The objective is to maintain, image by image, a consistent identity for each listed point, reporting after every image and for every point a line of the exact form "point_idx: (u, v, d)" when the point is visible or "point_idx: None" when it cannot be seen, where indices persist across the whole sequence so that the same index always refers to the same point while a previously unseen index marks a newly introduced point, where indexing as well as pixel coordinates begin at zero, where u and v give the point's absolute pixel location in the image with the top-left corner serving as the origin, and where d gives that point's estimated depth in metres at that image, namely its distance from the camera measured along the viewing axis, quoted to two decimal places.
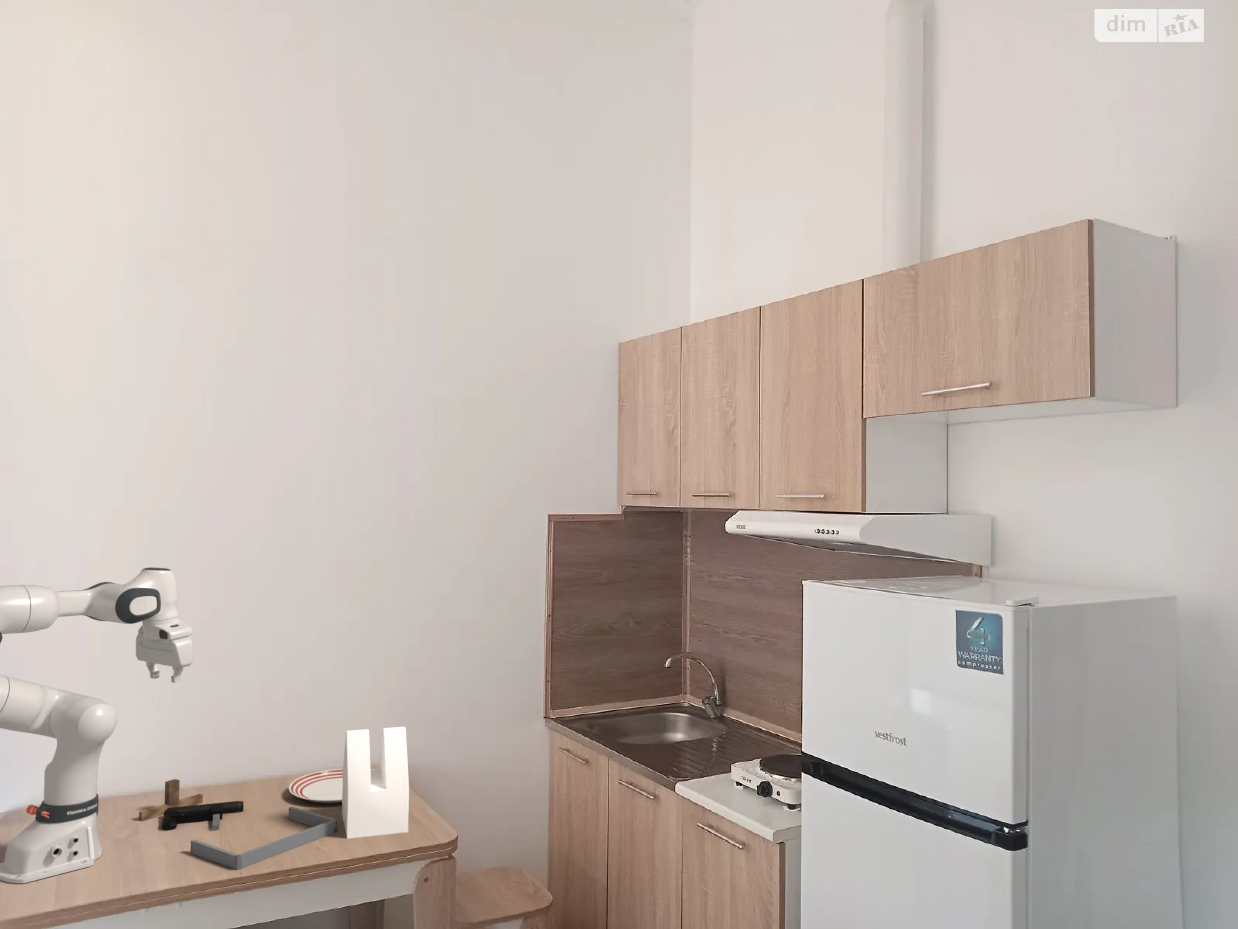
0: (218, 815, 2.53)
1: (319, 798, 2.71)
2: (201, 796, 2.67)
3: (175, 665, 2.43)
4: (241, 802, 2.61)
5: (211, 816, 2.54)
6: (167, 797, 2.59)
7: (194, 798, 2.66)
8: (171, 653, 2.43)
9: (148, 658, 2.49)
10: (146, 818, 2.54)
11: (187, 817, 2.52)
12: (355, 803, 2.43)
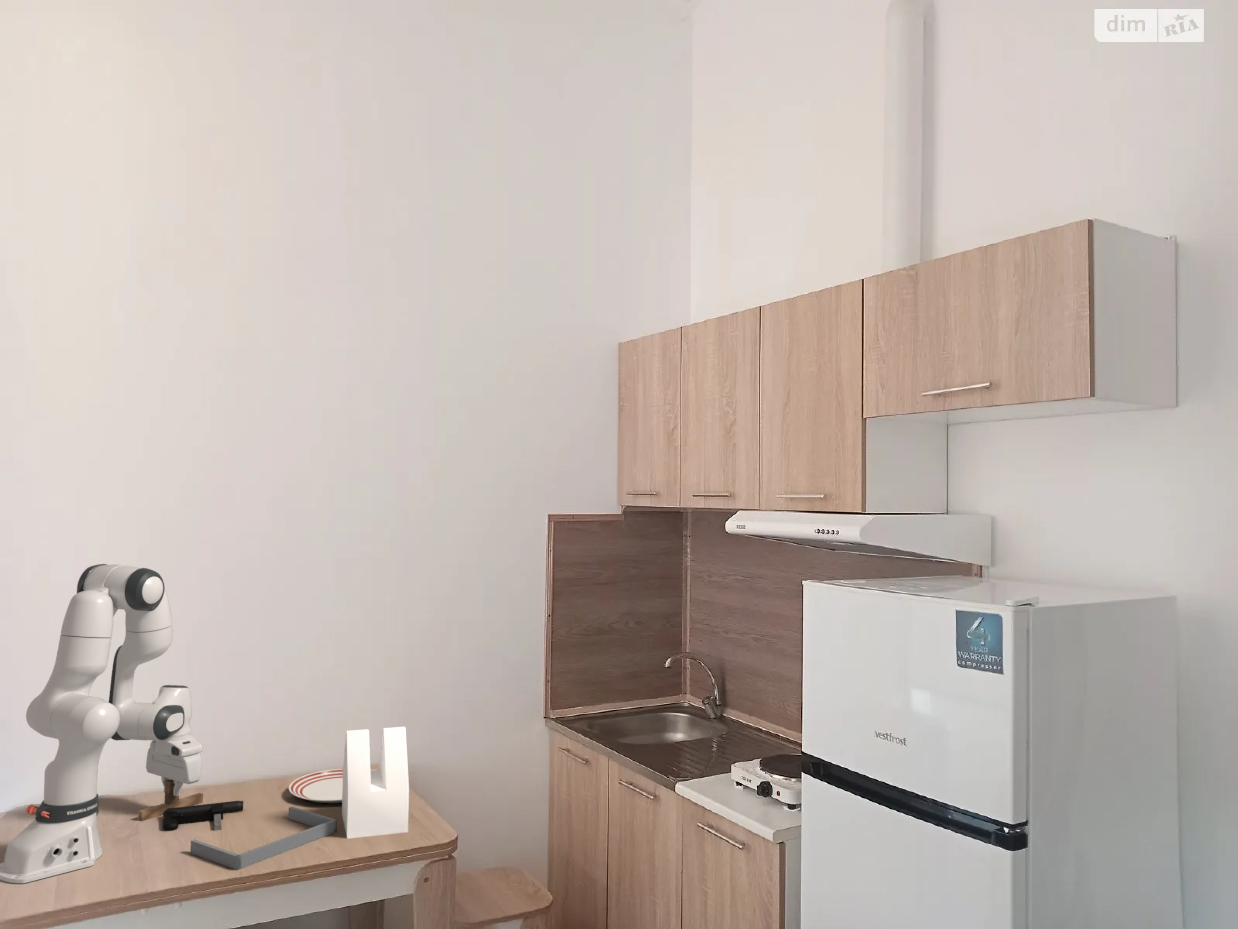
0: (219, 815, 2.53)
1: (319, 798, 2.71)
2: (201, 795, 2.67)
3: (183, 781, 2.55)
4: (241, 802, 2.62)
5: (212, 816, 2.54)
6: (167, 796, 2.59)
7: (194, 797, 2.66)
8: (180, 769, 2.56)
9: (158, 771, 2.61)
10: (146, 817, 2.54)
11: (188, 817, 2.51)
12: (355, 803, 2.43)
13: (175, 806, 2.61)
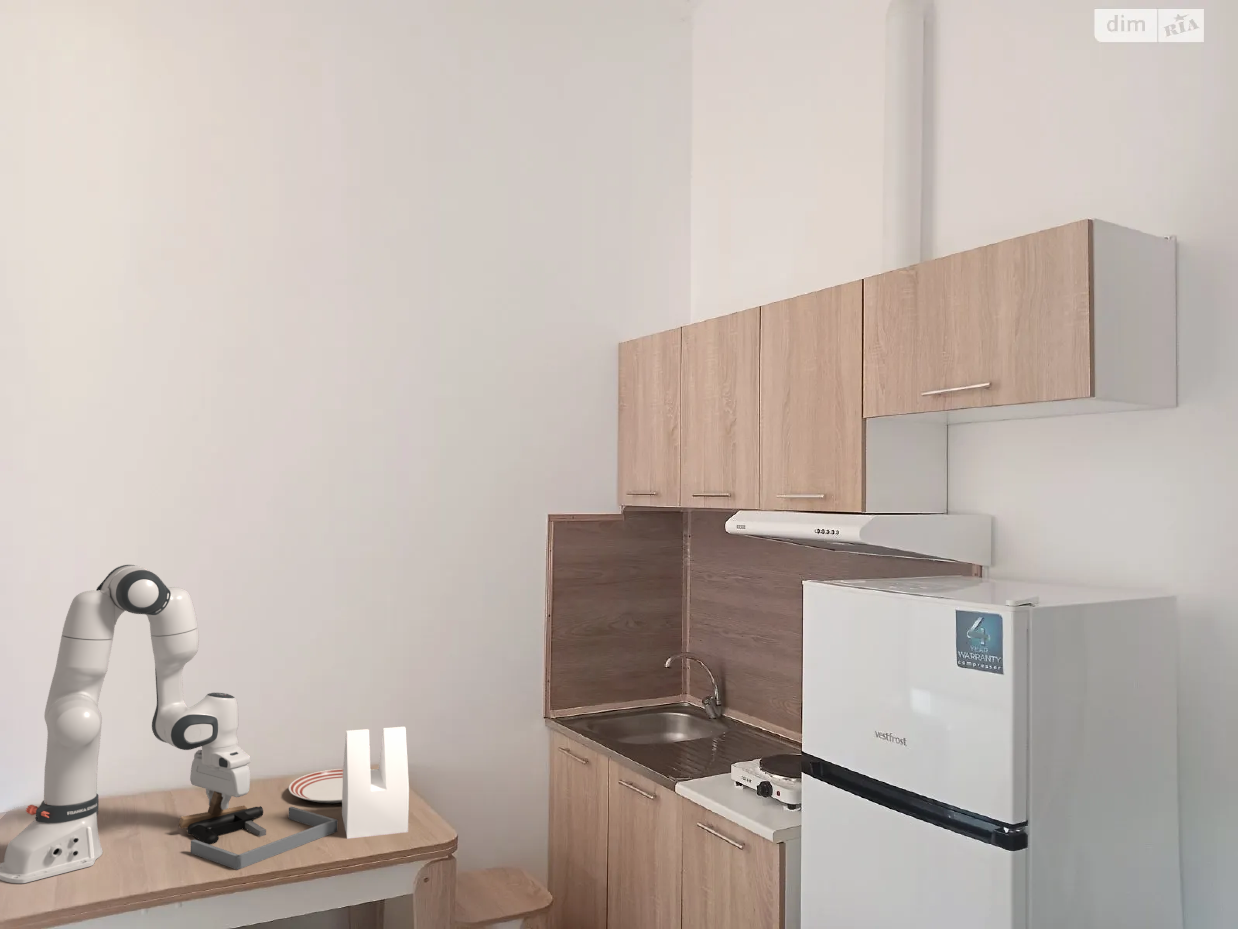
0: (251, 822, 2.48)
1: (319, 798, 2.71)
2: None
3: (232, 794, 2.45)
4: (260, 807, 2.57)
5: (243, 824, 2.48)
6: (212, 807, 2.49)
7: None
8: (228, 781, 2.45)
9: (203, 784, 2.51)
10: (186, 825, 2.44)
11: (221, 828, 2.43)
12: (355, 803, 2.43)
13: None
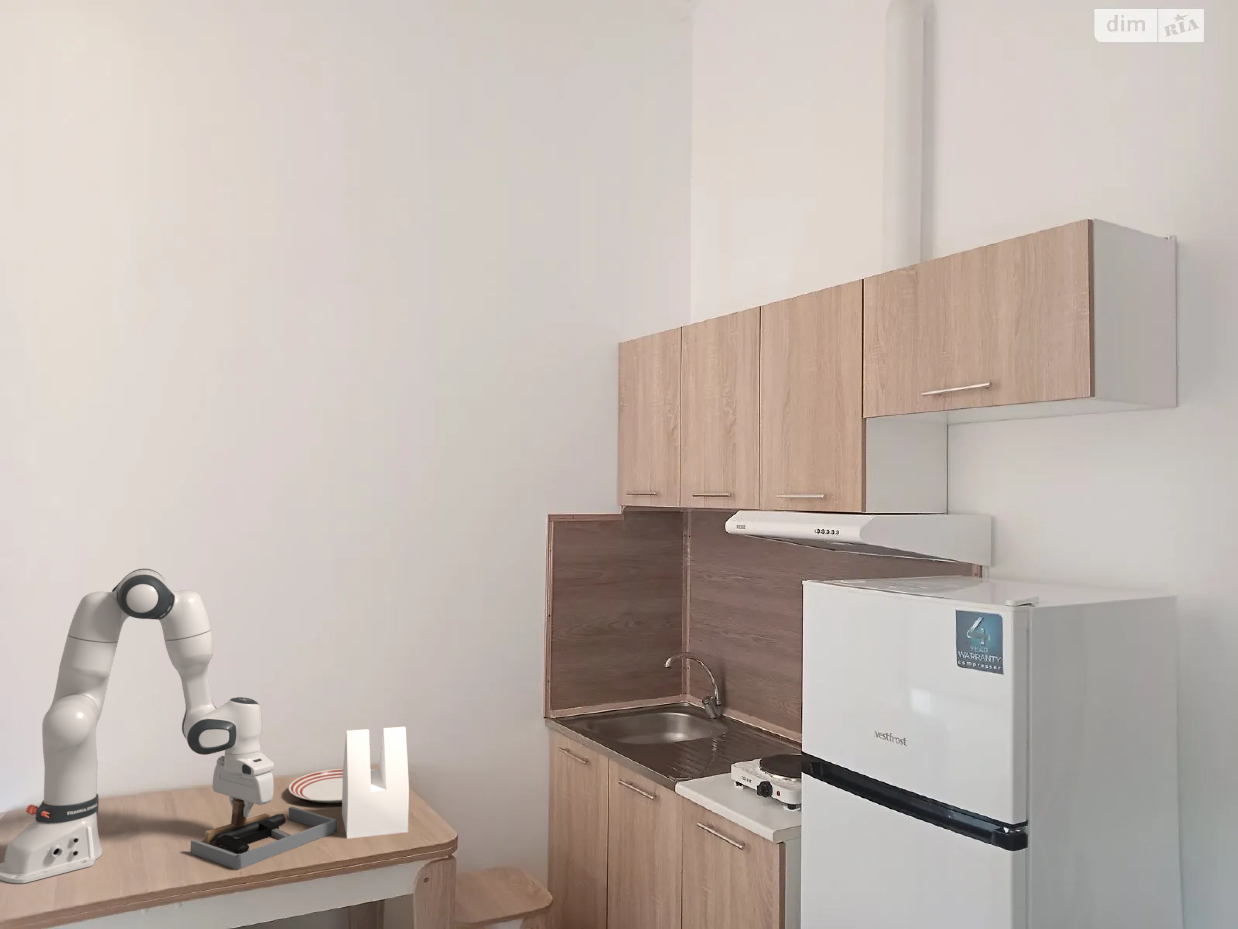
0: (278, 829, 2.44)
1: (319, 798, 2.71)
2: (267, 816, 2.51)
3: (255, 802, 2.39)
4: (282, 815, 2.52)
5: (269, 832, 2.43)
6: (234, 817, 2.43)
7: (261, 818, 2.49)
8: (251, 789, 2.40)
9: (226, 791, 2.46)
10: (212, 839, 2.38)
11: (249, 837, 2.38)
12: (355, 803, 2.43)
13: None
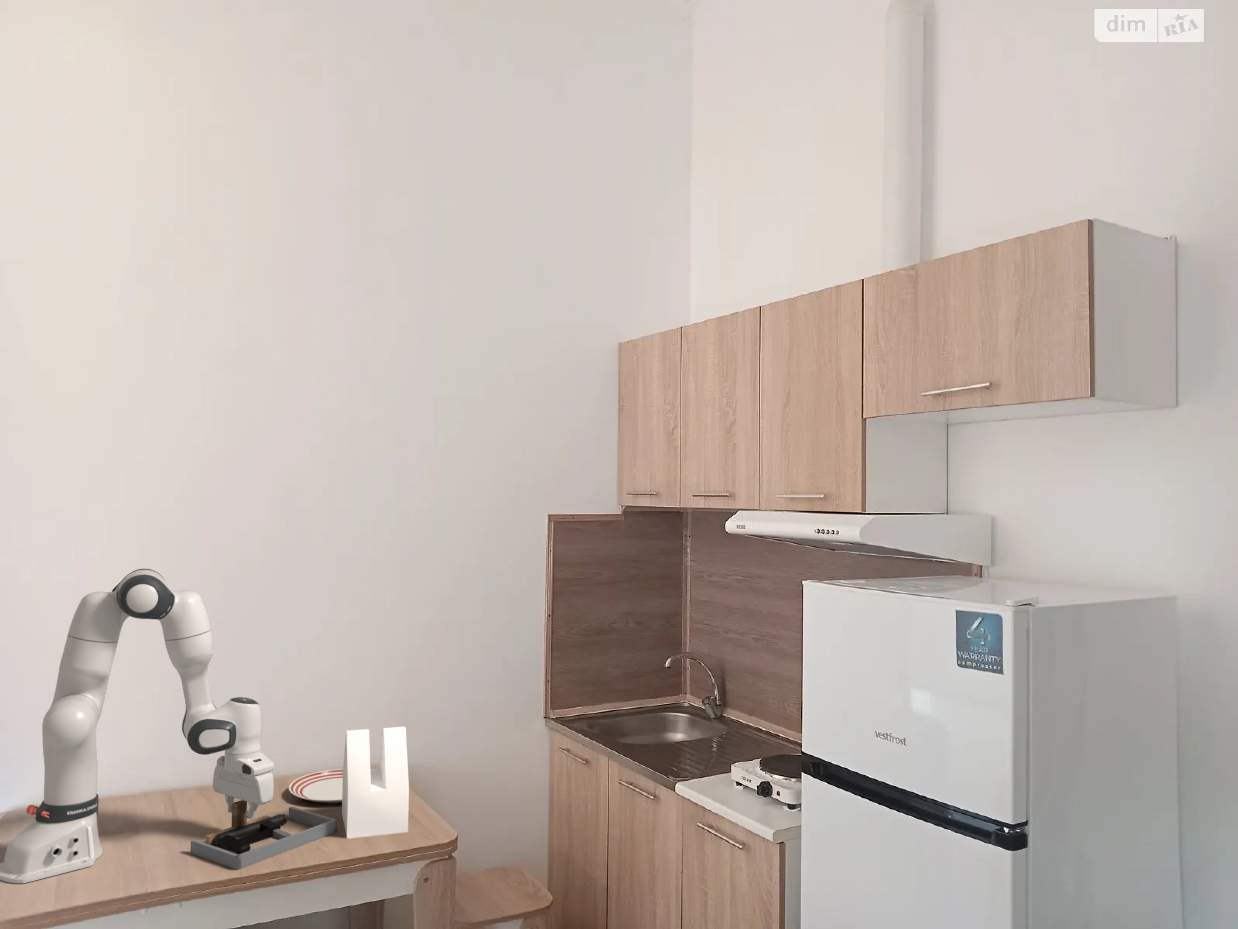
0: (280, 830, 2.43)
1: (319, 798, 2.71)
2: None
3: (255, 802, 2.39)
4: (283, 815, 2.52)
5: (271, 832, 2.43)
6: (234, 820, 2.43)
7: None
8: (251, 789, 2.40)
9: (226, 791, 2.46)
10: (213, 843, 2.37)
11: (250, 838, 2.38)
12: (355, 803, 2.43)
13: None
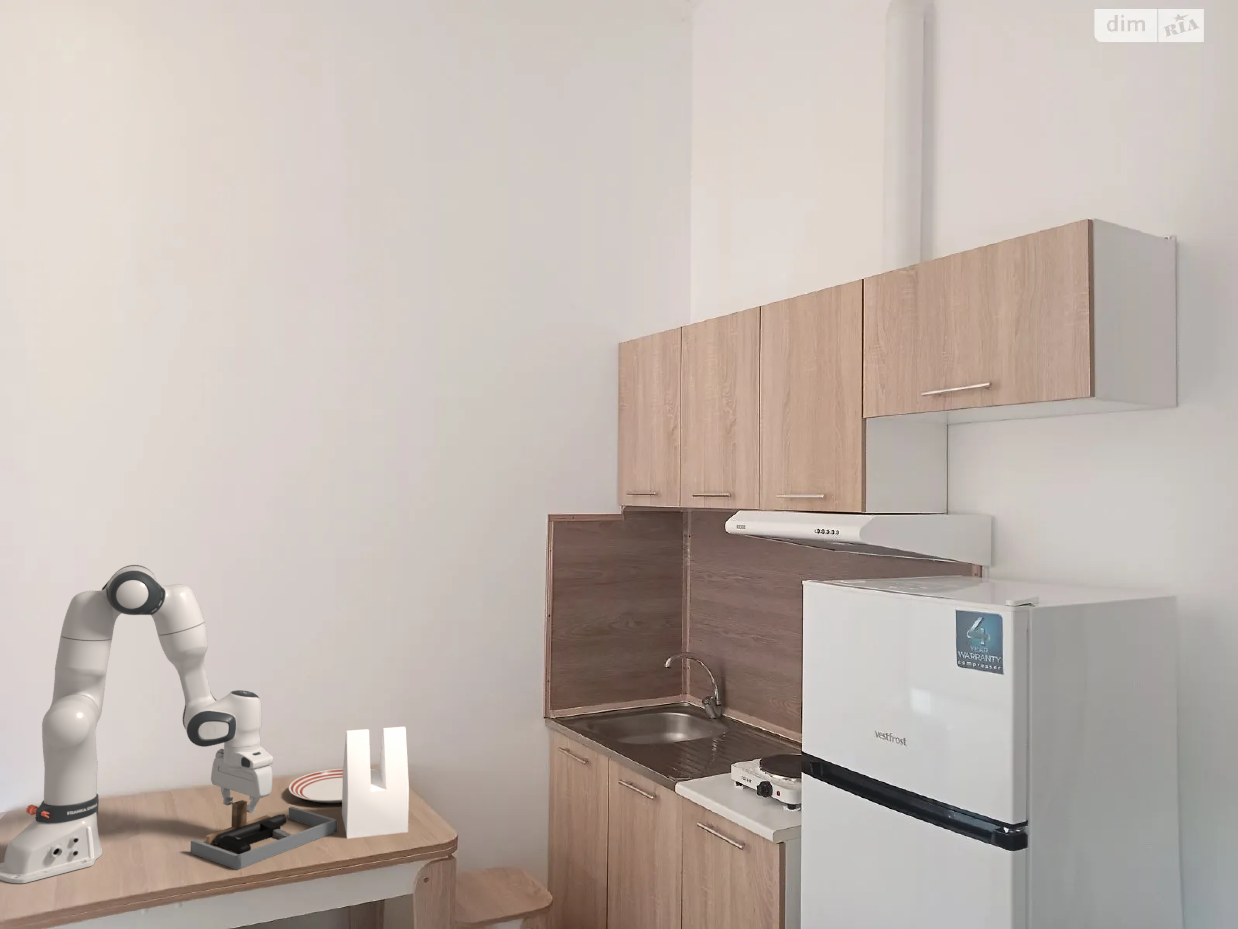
0: (280, 830, 2.43)
1: (319, 798, 2.71)
2: None
3: (253, 795, 2.39)
4: (283, 815, 2.52)
5: (271, 832, 2.43)
6: (234, 820, 2.43)
7: None
8: (250, 782, 2.40)
9: (224, 784, 2.45)
10: (213, 843, 2.37)
11: (251, 838, 2.38)
12: (355, 803, 2.43)
13: None
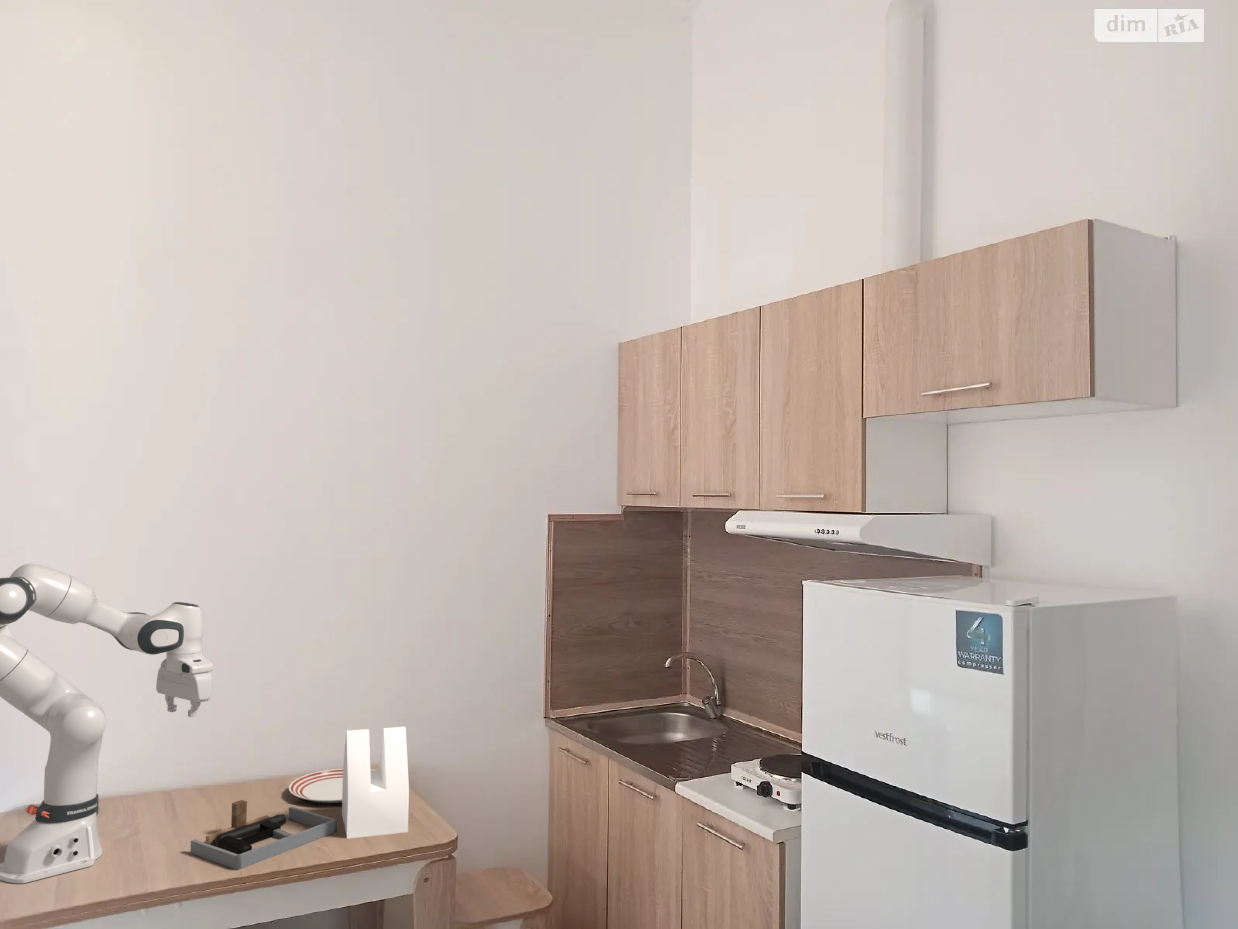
0: (280, 830, 2.44)
1: (319, 798, 2.71)
2: None
3: (193, 699, 2.49)
4: (283, 815, 2.52)
5: (271, 832, 2.43)
6: (234, 820, 2.43)
7: None
8: (190, 687, 2.50)
9: (168, 691, 2.56)
10: (213, 843, 2.37)
11: (251, 838, 2.38)
12: (355, 803, 2.43)
13: None
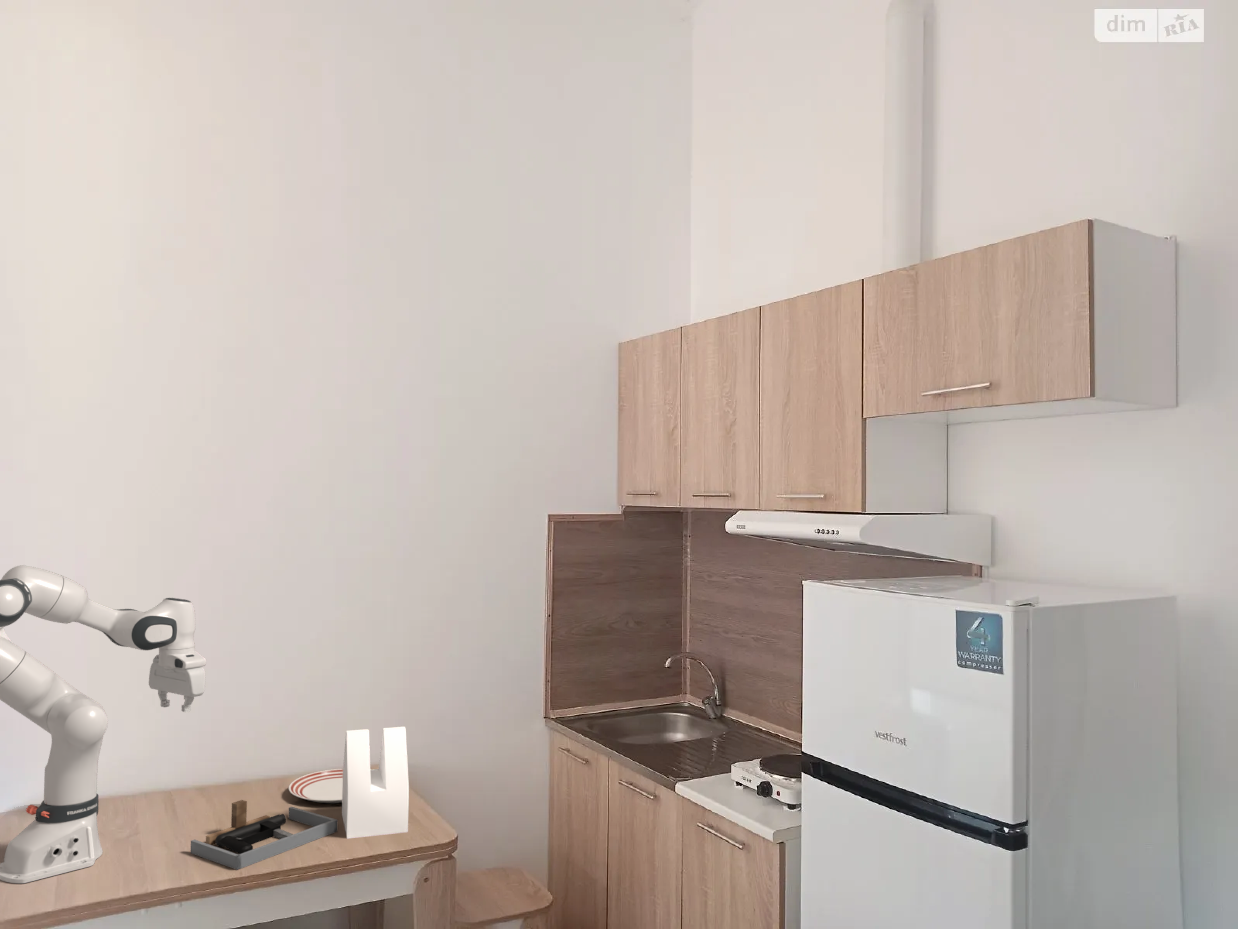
0: (280, 829, 2.44)
1: (319, 798, 2.71)
2: None
3: (187, 694, 2.51)
4: (282, 815, 2.52)
5: (271, 832, 2.43)
6: (234, 820, 2.43)
7: None
8: (184, 682, 2.51)
9: (161, 686, 2.57)
10: (213, 843, 2.37)
11: (252, 838, 2.38)
12: (355, 803, 2.43)
13: None
